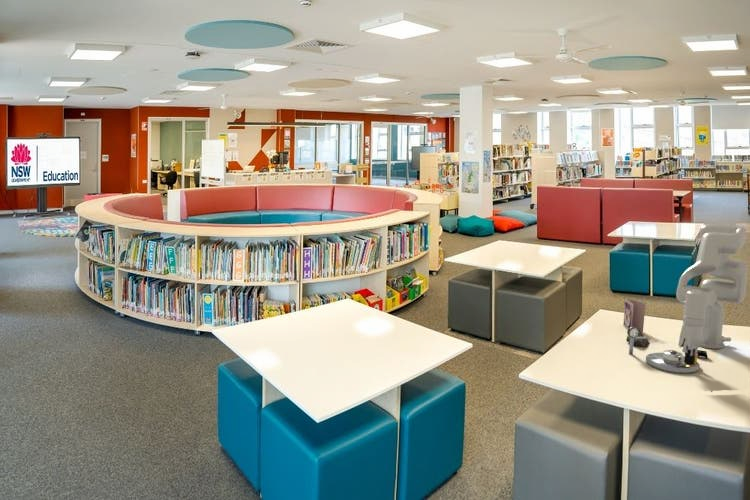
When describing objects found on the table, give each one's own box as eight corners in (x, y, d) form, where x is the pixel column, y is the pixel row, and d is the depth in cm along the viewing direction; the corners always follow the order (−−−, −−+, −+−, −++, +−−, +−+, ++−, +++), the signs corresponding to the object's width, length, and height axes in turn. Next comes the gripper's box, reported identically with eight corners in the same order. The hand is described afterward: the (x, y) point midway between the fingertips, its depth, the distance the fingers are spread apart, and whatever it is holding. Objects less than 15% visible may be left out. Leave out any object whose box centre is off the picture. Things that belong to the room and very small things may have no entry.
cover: (663, 357, 234) (664, 347, 233) (682, 361, 230) (683, 350, 230) (661, 363, 228) (662, 352, 227) (680, 366, 225) (682, 355, 224)
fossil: (653, 350, 250) (644, 331, 249) (633, 357, 253) (624, 338, 252) (648, 341, 260) (639, 323, 259) (629, 348, 263) (620, 330, 262)
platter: (648, 352, 244) (649, 338, 243) (700, 361, 234) (701, 347, 233) (643, 367, 227) (644, 352, 226) (698, 377, 217) (700, 362, 216)
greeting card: (621, 325, 287) (623, 298, 284) (636, 326, 286) (638, 298, 283) (629, 332, 275) (631, 304, 273) (644, 333, 275) (647, 304, 272)
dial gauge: (639, 354, 246) (642, 324, 244) (647, 358, 240) (650, 328, 238) (620, 354, 246) (623, 324, 243) (627, 359, 240) (630, 329, 237)
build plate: (685, 361, 239) (686, 351, 238) (683, 356, 245) (684, 346, 244) (718, 366, 234) (719, 356, 233) (716, 360, 240) (717, 350, 239)
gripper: (693, 316, 228) (689, 357, 231) (674, 321, 220) (670, 364, 223) (712, 320, 222) (707, 363, 225) (693, 326, 214) (688, 370, 217)
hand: (689, 363), depth 224 cm, fingers closed
